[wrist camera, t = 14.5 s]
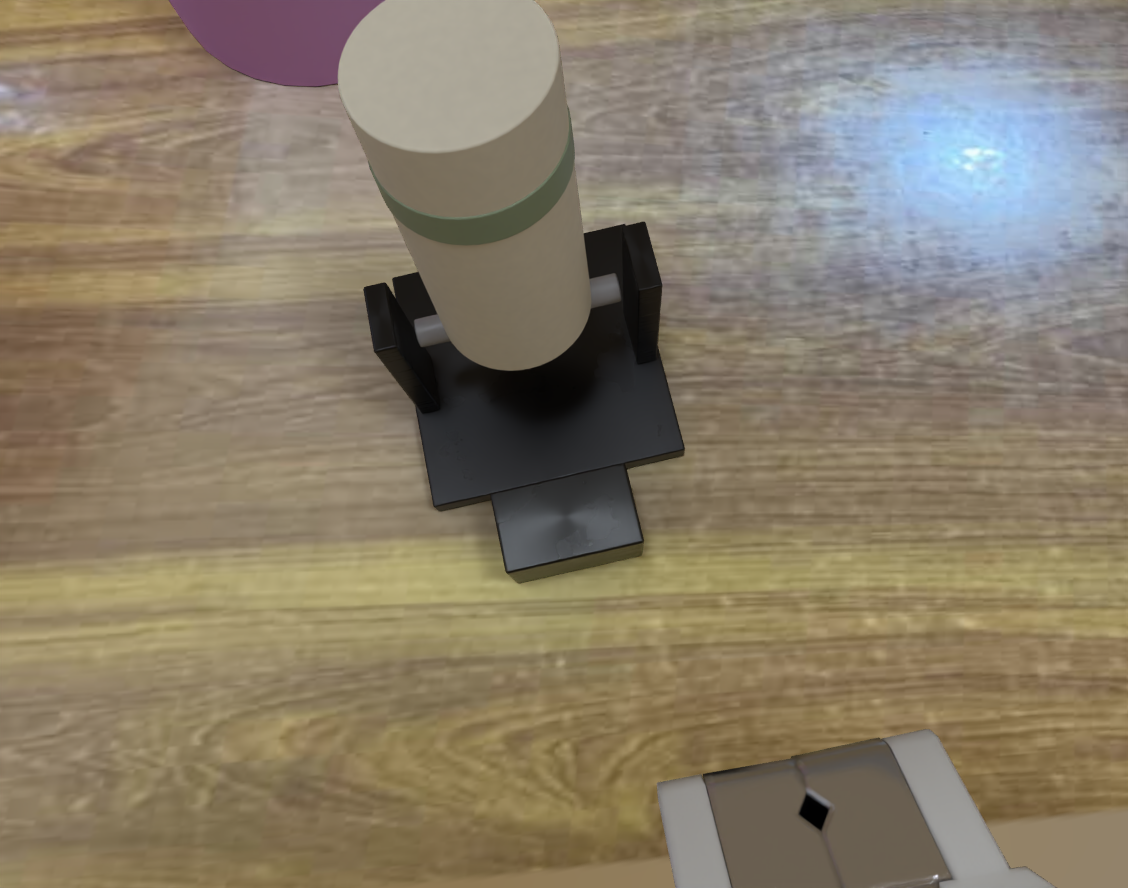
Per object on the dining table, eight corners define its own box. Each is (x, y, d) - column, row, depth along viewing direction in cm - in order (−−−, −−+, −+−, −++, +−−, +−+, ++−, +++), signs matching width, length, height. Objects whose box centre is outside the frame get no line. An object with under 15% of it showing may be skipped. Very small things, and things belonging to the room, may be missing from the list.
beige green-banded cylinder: (626, 112, 20) (575, -57, 22) (305, 187, 20) (285, 12, 22) (636, 359, 31) (602, 233, 33) (432, 406, 31) (410, 277, 33)
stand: (706, 541, 35) (728, 500, 27) (454, 598, 35) (404, 574, 27) (625, 234, 38) (624, 121, 31) (397, 287, 39) (339, 188, 31)
